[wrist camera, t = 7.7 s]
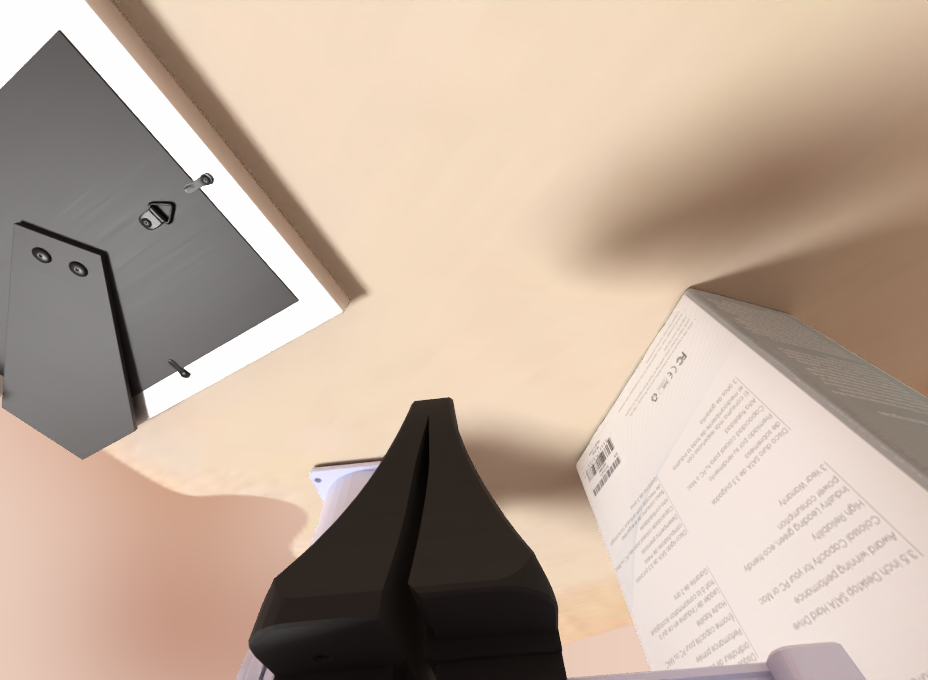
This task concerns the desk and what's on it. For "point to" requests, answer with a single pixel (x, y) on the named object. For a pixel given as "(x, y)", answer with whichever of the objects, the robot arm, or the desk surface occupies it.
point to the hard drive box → (764, 495)
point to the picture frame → (127, 234)
